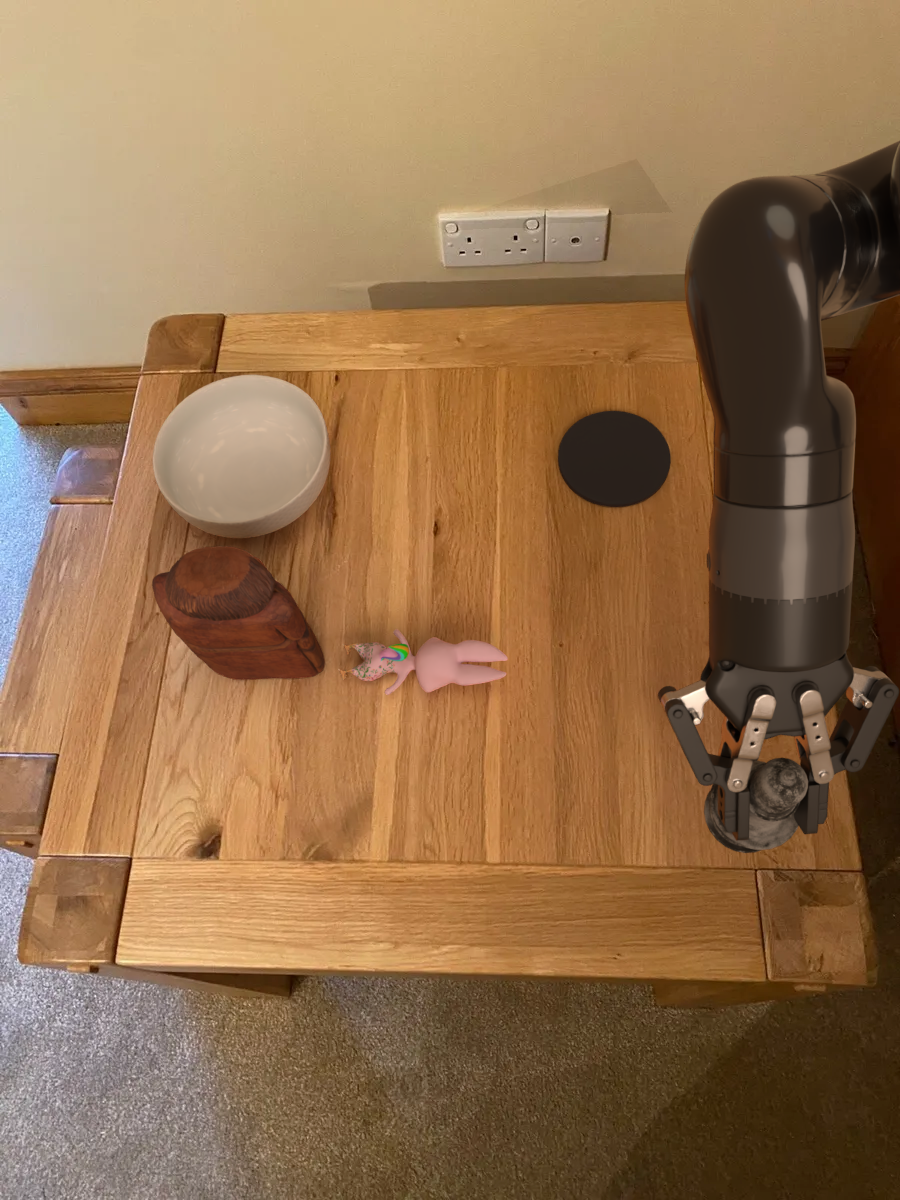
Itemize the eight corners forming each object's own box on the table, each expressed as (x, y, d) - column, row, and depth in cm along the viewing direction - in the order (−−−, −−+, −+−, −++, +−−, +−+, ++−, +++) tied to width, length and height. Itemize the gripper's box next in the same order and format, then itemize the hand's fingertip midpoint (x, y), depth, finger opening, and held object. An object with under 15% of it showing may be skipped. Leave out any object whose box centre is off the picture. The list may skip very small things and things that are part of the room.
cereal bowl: (308, 574, 85) (291, 539, 78) (151, 540, 88) (122, 503, 81) (361, 431, 91) (349, 387, 85) (213, 403, 94) (191, 359, 88)
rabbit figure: (345, 701, 81) (507, 706, 77) (322, 679, 76) (494, 683, 72) (356, 637, 83) (513, 640, 80) (334, 612, 78) (501, 613, 74)
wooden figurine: (332, 620, 83) (288, 526, 66) (328, 685, 80) (280, 604, 64) (209, 621, 84) (134, 529, 67) (200, 686, 81) (120, 606, 65)
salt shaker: (691, 841, 61) (729, 808, 50) (709, 761, 63) (750, 711, 52) (778, 869, 60) (837, 841, 49) (793, 786, 62) (853, 741, 51)
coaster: (640, 400, 91) (641, 396, 90) (689, 485, 86) (690, 481, 86) (540, 435, 90) (541, 431, 89) (585, 522, 85) (585, 519, 85)
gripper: (667, 607, 46) (673, 879, 52) (943, 579, 45) (916, 856, 52) (637, 562, 53) (645, 806, 59) (876, 537, 52) (859, 785, 59)
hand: (771, 828), depth 55 cm, fingers closed on salt shaker, 3 cm apart
